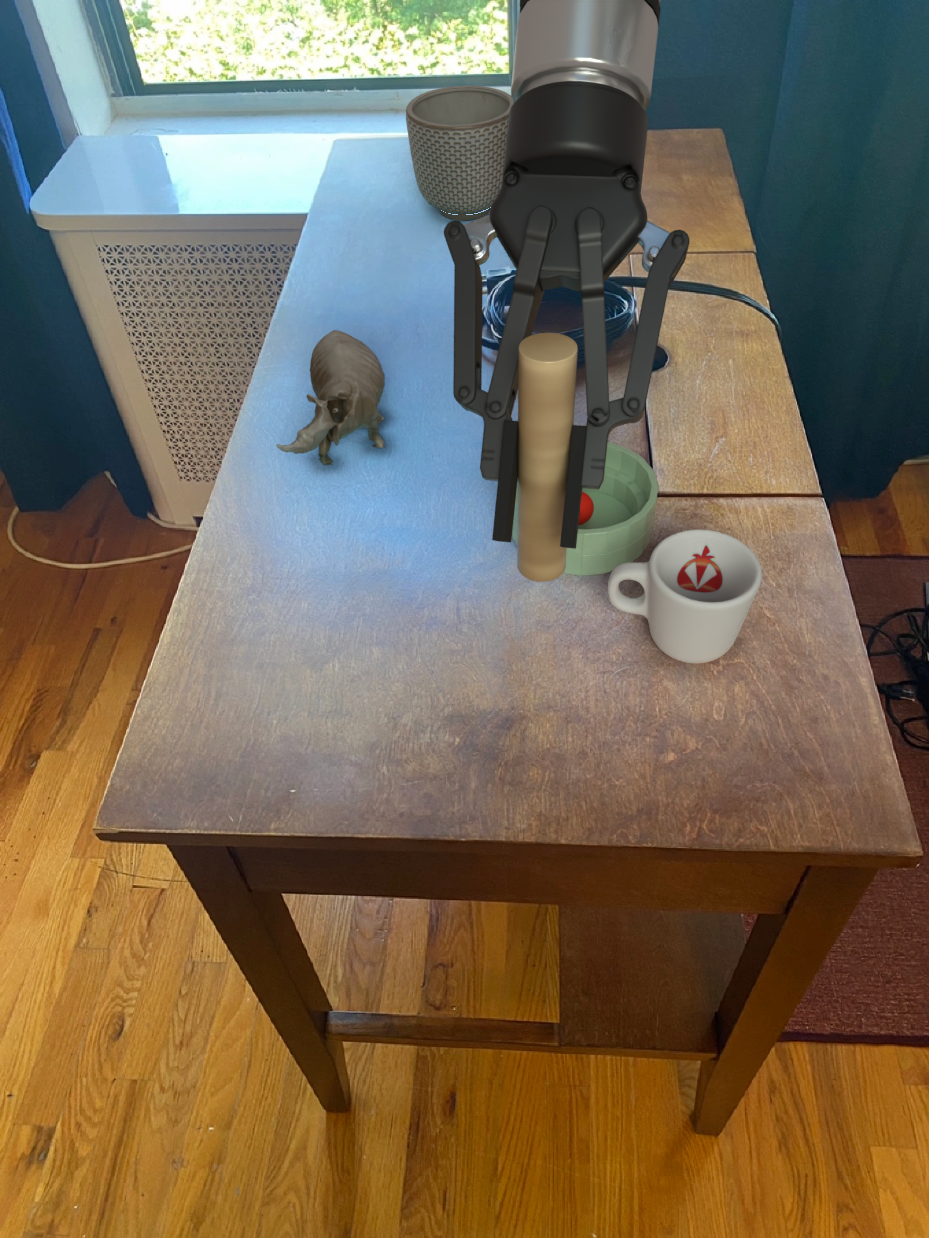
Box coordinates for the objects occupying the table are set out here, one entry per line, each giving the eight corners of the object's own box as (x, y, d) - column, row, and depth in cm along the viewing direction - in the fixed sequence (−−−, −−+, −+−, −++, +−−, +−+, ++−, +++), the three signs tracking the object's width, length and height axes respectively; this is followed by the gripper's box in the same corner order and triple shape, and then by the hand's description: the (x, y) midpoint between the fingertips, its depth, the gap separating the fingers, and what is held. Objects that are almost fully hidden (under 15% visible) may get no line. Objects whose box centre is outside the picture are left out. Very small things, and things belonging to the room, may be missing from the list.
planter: (413, 190, 128) (404, 89, 118) (512, 183, 128) (511, 81, 118) (414, 237, 119) (405, 131, 109) (522, 229, 119) (522, 122, 109)
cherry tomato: (572, 537, 80) (570, 522, 77) (553, 512, 81) (550, 496, 78) (601, 519, 80) (600, 503, 77) (582, 494, 81) (580, 478, 78)
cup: (596, 662, 71) (603, 591, 65) (610, 588, 76) (618, 516, 70) (740, 685, 69) (760, 613, 63) (744, 607, 74) (764, 535, 68)
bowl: (677, 556, 78) (686, 507, 74) (547, 599, 75) (548, 551, 71) (609, 472, 86) (614, 424, 82) (489, 509, 83) (487, 461, 79)
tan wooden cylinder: (573, 574, 57) (588, 354, 46) (529, 587, 56) (533, 367, 45) (552, 545, 59) (561, 327, 48) (509, 557, 58) (509, 339, 47)
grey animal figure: (408, 358, 95) (365, 293, 80) (403, 488, 94) (359, 445, 79) (336, 362, 97) (282, 298, 82) (330, 489, 95) (274, 448, 81)
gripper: (723, 145, 52) (677, 559, 53) (445, 138, 54) (409, 533, 56) (741, 74, 44) (687, 557, 46) (419, 70, 47) (378, 528, 49)
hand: (535, 543), depth 51 cm, fingers closed on tan wooden cylinder, 3 cm apart
